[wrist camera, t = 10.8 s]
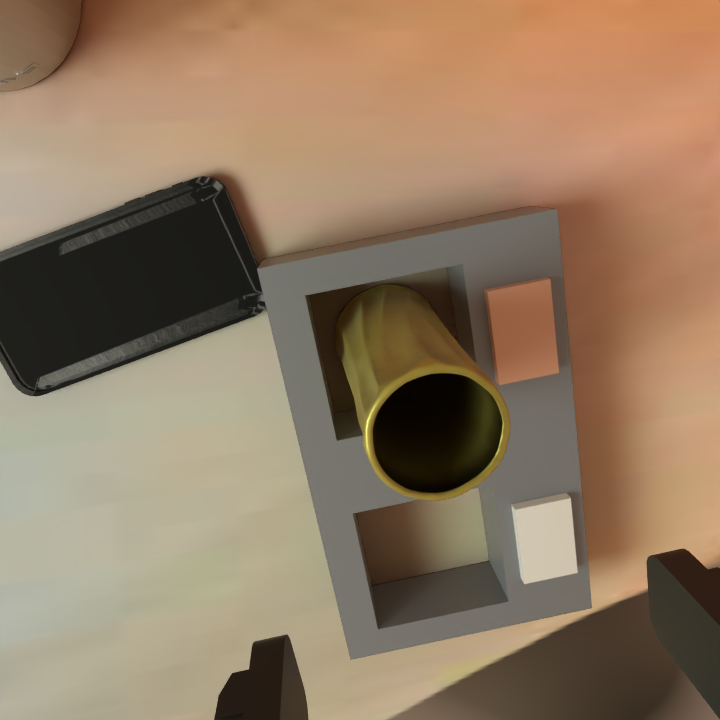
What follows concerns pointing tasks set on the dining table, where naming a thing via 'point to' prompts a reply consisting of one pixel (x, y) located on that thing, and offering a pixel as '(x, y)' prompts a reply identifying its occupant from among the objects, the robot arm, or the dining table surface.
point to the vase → (419, 396)
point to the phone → (125, 286)
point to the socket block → (525, 445)
